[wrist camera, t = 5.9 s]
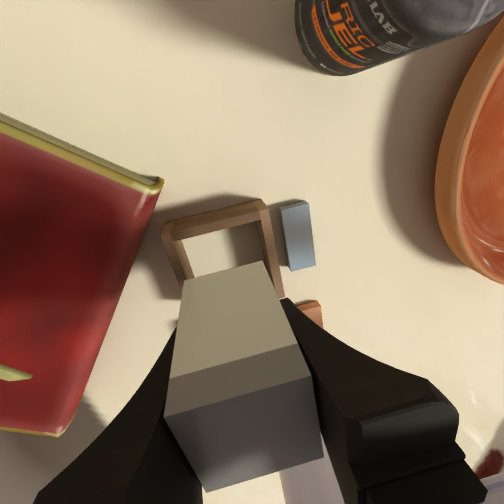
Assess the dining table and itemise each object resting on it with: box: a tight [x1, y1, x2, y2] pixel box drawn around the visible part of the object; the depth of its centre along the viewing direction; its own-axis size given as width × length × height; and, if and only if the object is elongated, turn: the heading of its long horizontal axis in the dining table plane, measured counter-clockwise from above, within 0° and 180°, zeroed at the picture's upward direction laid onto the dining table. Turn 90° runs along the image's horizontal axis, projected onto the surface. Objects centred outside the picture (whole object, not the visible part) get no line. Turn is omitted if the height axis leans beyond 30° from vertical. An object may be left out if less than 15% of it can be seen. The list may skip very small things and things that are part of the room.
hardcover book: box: [0, 113, 164, 437], centre depth 17 cm, size 12×21×4 cm, turn 153°
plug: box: [164, 261, 324, 493], centre depth 11 cm, size 4×4×7 cm
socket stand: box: [160, 199, 323, 328], centre depth 21 cm, size 16×10×2 cm, turn 12°
